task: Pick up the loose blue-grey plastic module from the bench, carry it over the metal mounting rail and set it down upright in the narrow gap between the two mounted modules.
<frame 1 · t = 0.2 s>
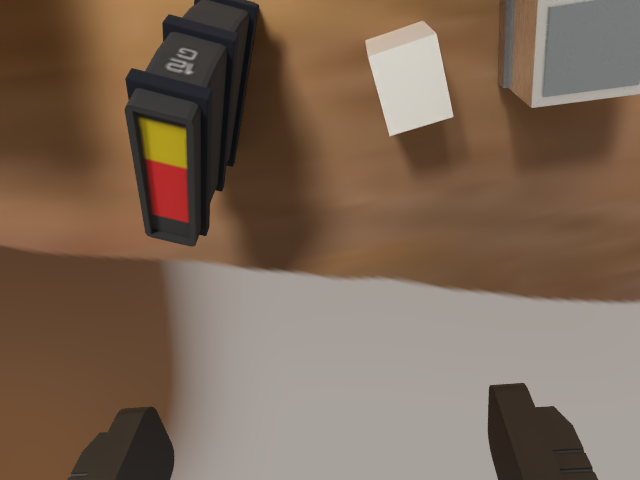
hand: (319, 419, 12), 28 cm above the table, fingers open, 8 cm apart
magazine: (223, 92, 37), on the table
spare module: (402, 67, 35), on the table
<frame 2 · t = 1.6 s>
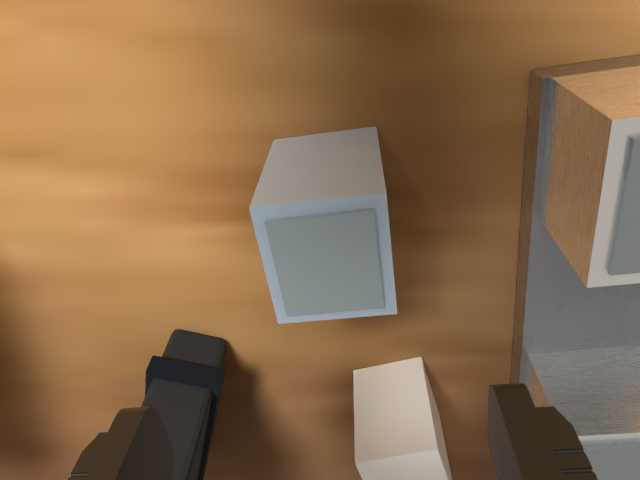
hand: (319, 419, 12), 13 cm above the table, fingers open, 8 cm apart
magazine: (190, 404, 31), on the table
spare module: (397, 392, 30), on the table
module: (332, 184, 23), on the table
rail: (590, 267, 25), on the table
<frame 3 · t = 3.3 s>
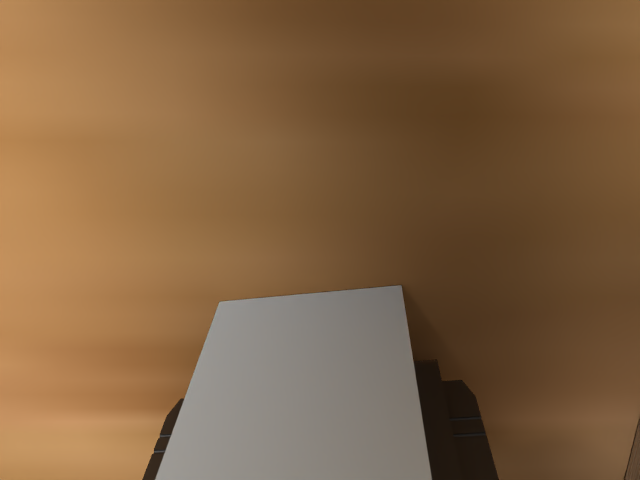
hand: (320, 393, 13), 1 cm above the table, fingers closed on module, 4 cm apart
module: (323, 368, 13), on the table, touching gripper
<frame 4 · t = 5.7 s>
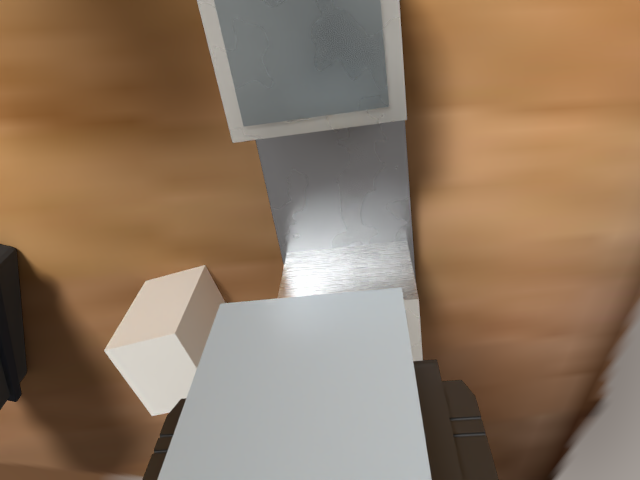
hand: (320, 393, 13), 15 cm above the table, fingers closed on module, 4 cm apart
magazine: (3, 321, 33), on the table
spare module: (193, 304, 31), on the table
module: (323, 369, 13), point 14 cm above the table, touching gripper
rail: (336, 165, 26), on the table
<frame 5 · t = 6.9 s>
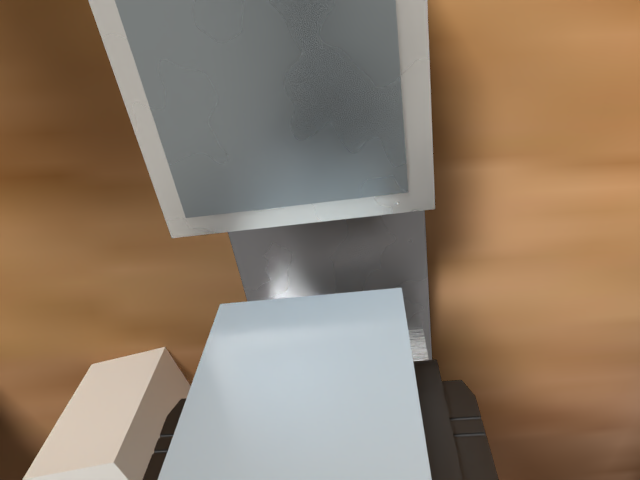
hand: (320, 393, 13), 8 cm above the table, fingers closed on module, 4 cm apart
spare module: (153, 391, 25), on the table
module: (323, 370, 13), point 7 cm above the table, touching gripper
rail: (330, 231, 19), on the table
when the fingers open (4 cm above the table, at t = 8.1 s): module drops 1 cm, resting on rail.
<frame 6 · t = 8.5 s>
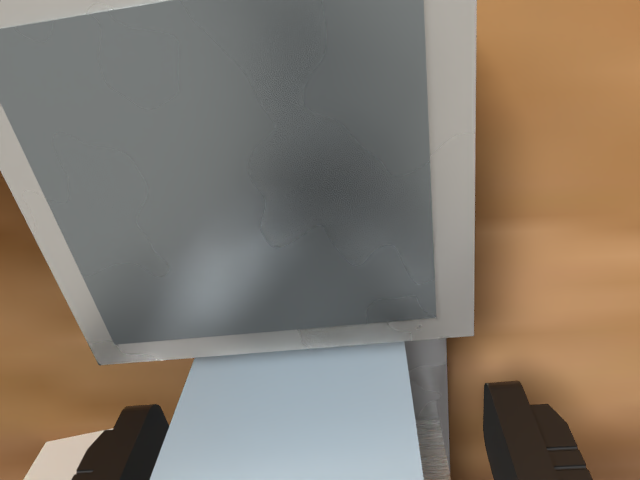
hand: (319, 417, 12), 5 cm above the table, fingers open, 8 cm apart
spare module: (119, 470, 21), on the table
module: (321, 333, 15), point 1 cm above the table, touching rail
rail: (326, 301, 16), on the table
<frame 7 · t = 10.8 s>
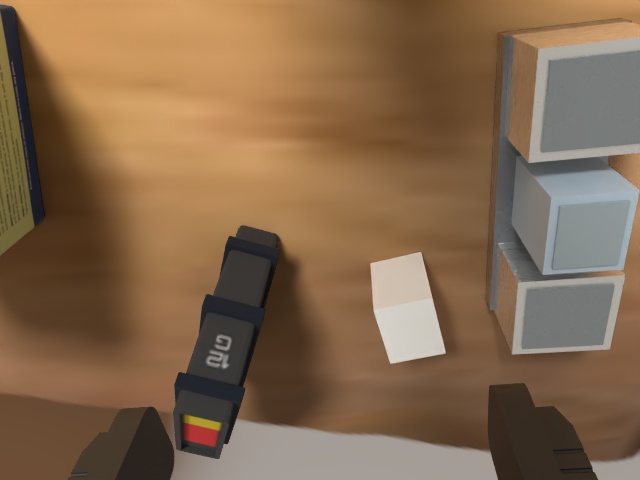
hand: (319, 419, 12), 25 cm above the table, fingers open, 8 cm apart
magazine: (244, 293, 41), on the table
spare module: (402, 283, 40), on the table
module: (548, 188, 34), point 1 cm above the table, touching rail
rail: (542, 179, 35), on the table
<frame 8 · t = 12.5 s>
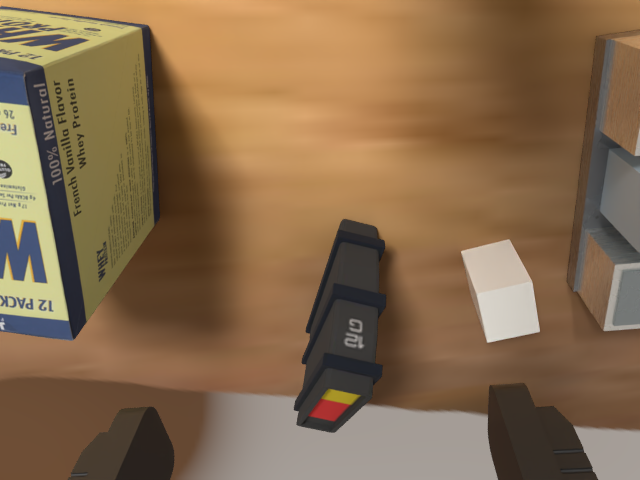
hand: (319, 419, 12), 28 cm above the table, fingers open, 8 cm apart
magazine: (339, 281, 45), on the table
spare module: (489, 268, 43), on the table
module: (636, 177, 36), point 1 cm above the table, touching rail
rail: (628, 169, 38), on the table
protein box: (90, 121, 38), on the table
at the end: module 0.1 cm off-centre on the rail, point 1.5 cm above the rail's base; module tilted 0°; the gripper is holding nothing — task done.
